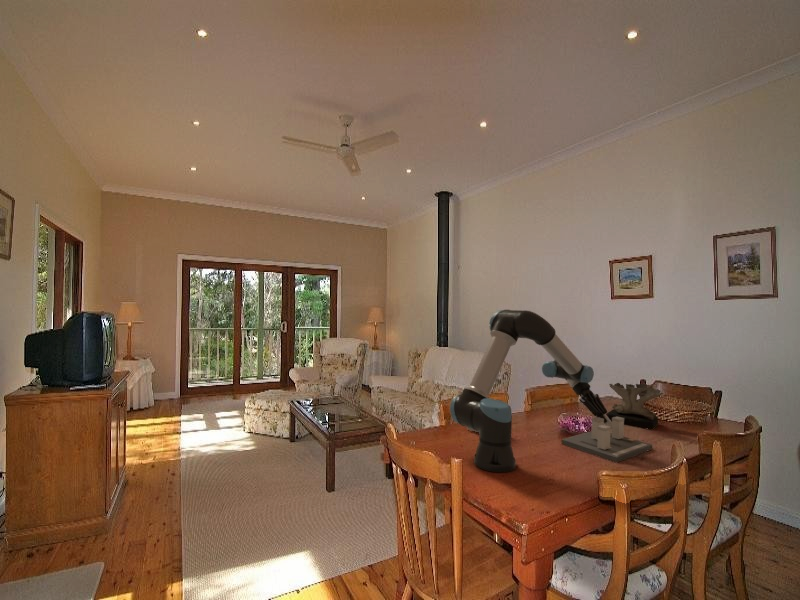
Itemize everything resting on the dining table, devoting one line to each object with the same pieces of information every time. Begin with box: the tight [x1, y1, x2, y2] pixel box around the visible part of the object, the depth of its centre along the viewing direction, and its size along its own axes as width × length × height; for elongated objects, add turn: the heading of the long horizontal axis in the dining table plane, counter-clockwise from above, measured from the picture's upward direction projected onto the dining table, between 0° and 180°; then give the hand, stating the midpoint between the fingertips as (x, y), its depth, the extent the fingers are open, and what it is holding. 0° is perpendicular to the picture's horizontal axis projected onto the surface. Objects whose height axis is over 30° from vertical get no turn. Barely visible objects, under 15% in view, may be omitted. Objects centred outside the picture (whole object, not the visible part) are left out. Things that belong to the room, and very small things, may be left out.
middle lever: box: [590, 416, 605, 440], centre depth 178 cm, size 4×3×9 cm
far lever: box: [611, 416, 625, 439], centre depth 179 cm, size 4×3×9 cm
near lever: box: [597, 424, 612, 450], centre depth 166 cm, size 4×3×9 cm
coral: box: [606, 382, 664, 430], centre depth 208 cm, size 25×20×22 cm
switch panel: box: [560, 430, 653, 463], centre depth 174 cm, size 28×24×2 cm
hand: (612, 428), depth 182 cm, fingers closed
